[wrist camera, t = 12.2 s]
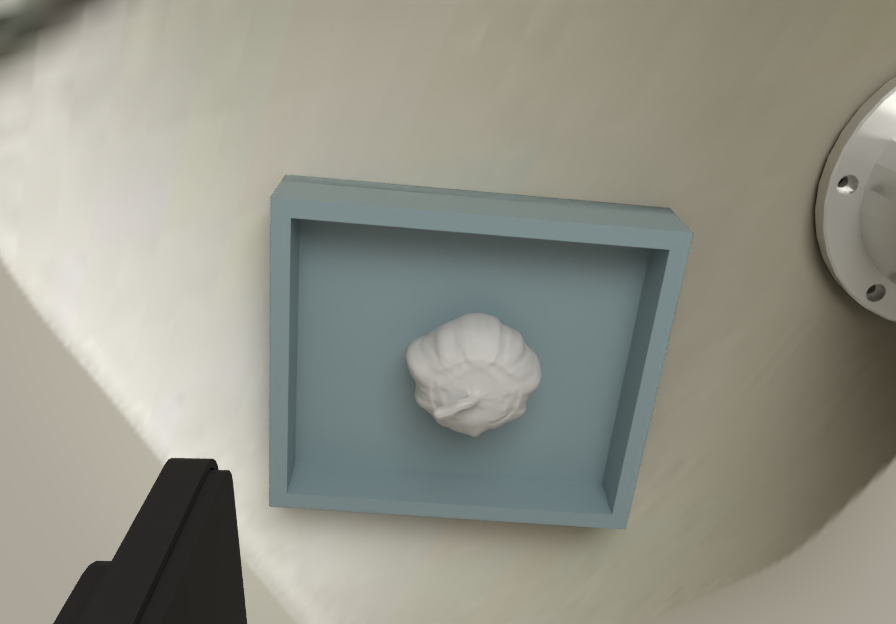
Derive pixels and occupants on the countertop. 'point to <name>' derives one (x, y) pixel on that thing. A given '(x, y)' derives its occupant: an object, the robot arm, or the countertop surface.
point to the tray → (445, 299)
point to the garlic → (473, 373)
